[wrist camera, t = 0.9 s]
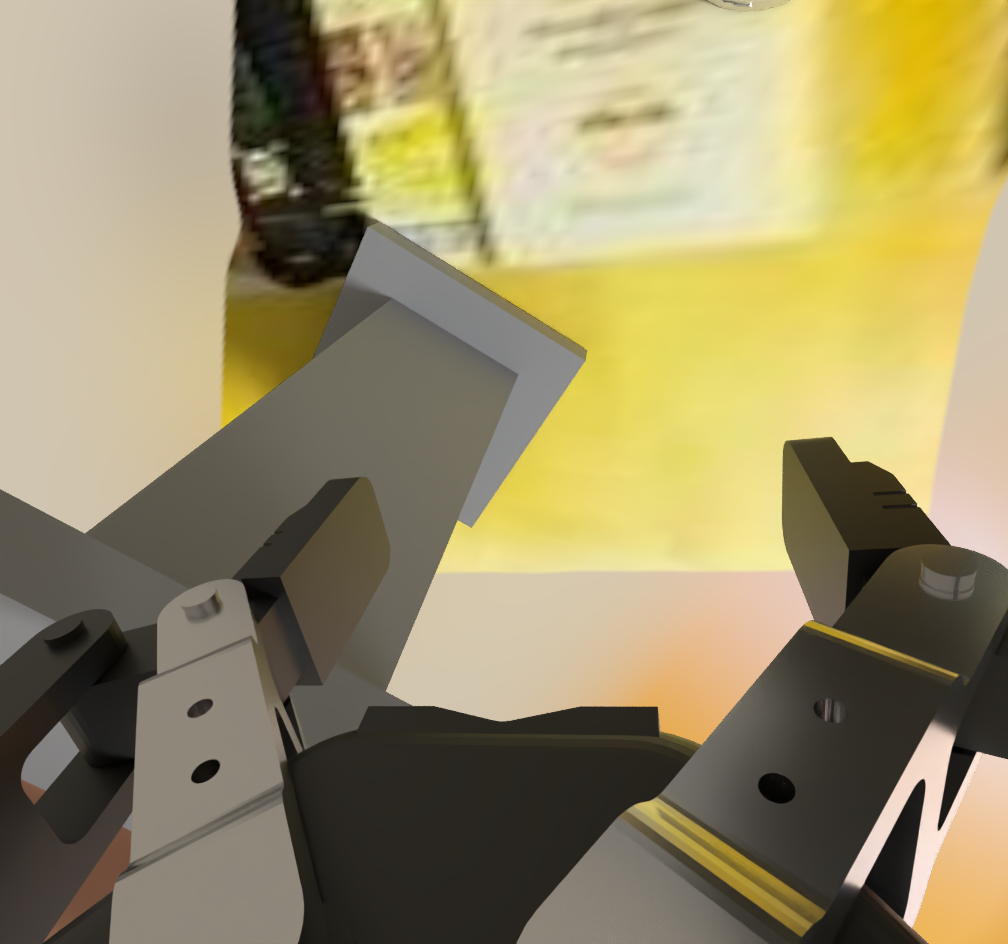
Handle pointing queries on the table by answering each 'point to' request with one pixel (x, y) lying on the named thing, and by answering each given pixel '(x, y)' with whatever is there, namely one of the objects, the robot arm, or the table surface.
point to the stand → (316, 475)
